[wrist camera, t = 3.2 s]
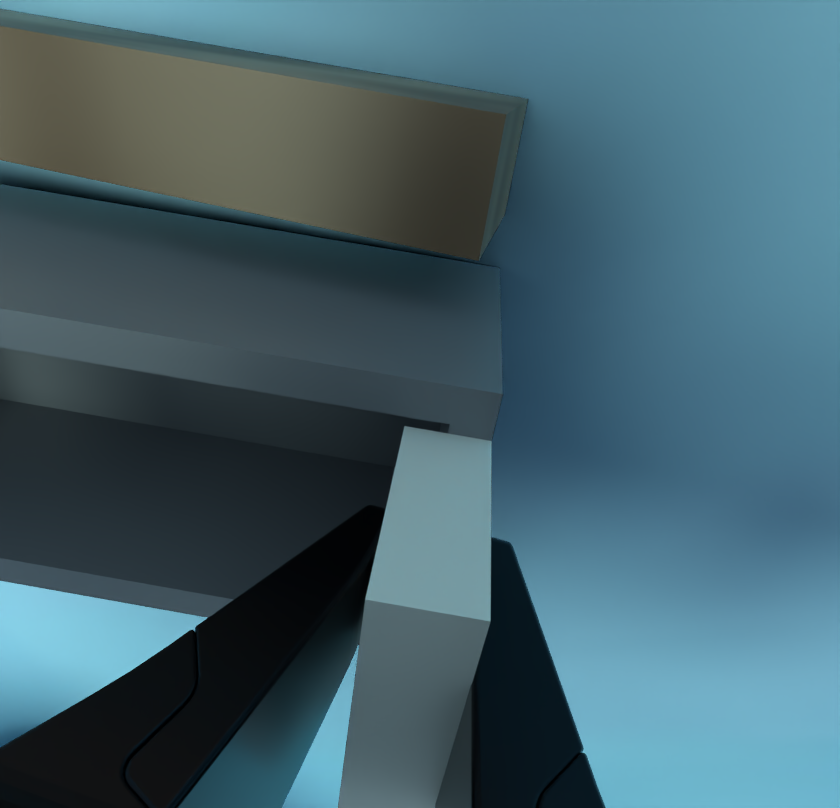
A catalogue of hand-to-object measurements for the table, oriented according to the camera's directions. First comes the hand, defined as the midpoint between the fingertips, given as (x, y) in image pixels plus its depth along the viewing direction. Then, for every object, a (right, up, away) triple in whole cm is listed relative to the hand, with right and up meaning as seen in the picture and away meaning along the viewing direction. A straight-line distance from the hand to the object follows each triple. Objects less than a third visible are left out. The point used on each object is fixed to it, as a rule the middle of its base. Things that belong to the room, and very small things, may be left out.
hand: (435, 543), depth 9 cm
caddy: (-5, +4, +4) cm, 7 cm away
